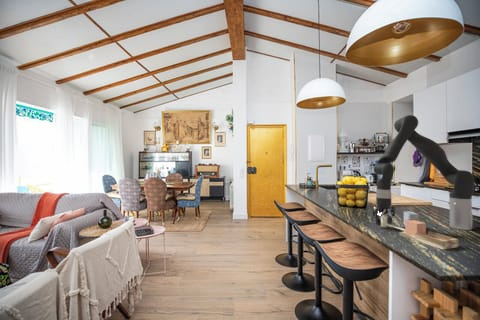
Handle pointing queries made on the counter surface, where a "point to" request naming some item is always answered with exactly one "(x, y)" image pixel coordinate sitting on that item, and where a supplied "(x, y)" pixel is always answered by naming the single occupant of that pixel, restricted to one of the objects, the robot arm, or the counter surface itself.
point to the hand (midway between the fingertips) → (383, 224)
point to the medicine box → (410, 216)
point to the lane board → (433, 239)
